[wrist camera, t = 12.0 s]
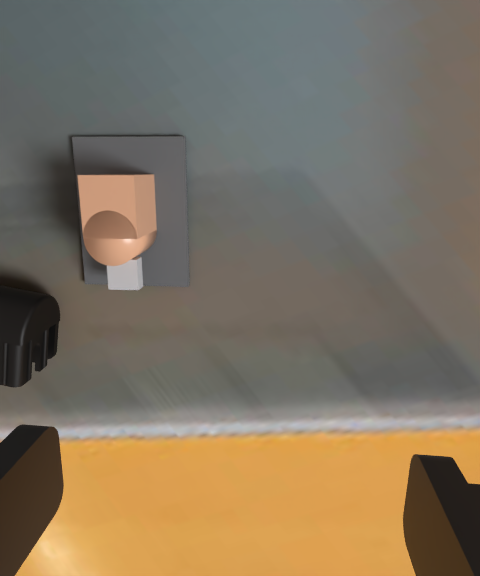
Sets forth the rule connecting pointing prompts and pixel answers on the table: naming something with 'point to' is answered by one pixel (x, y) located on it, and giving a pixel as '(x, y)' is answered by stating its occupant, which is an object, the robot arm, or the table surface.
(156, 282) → the mat
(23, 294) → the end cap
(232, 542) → the table surface
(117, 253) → the plug
